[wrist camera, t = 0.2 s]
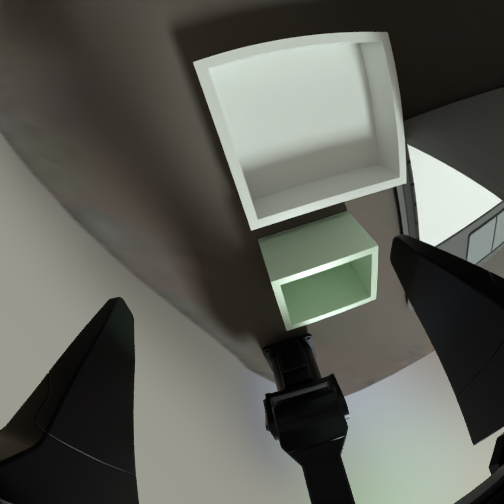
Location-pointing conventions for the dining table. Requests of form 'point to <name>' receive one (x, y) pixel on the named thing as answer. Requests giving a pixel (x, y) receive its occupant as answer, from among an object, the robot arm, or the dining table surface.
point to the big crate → (307, 121)
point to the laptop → (456, 177)
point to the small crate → (321, 268)
